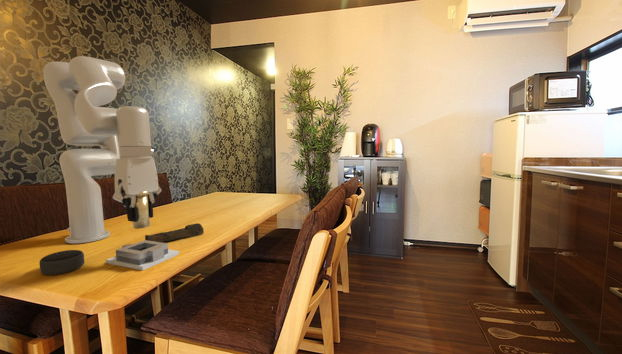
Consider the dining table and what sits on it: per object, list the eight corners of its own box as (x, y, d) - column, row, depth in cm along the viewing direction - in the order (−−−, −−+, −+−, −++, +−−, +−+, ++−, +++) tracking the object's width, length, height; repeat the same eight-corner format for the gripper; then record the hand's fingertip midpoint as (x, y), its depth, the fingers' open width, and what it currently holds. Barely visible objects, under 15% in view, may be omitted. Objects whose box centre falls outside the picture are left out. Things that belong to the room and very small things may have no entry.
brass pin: (127, 228, 79) (124, 192, 78) (143, 223, 83) (140, 189, 82) (140, 229, 77) (137, 192, 76) (155, 225, 81) (152, 190, 80)
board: (106, 263, 79) (106, 259, 79) (145, 248, 91) (144, 245, 91) (142, 270, 74) (142, 266, 74) (179, 254, 86) (178, 251, 85)
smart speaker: (70, 261, 82) (69, 247, 81) (92, 264, 79) (91, 250, 79) (32, 274, 73) (30, 259, 73) (55, 278, 71) (54, 263, 70)
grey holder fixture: (107, 259, 80) (107, 248, 80) (137, 248, 88) (136, 238, 88) (144, 265, 75) (143, 254, 75) (172, 254, 83) (171, 243, 83)
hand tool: (147, 248, 92) (146, 234, 91) (144, 245, 95) (143, 231, 94) (206, 236, 104) (205, 223, 104) (202, 233, 107) (201, 221, 107)
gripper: (152, 152, 87) (156, 212, 89) (94, 154, 72) (100, 225, 73) (171, 152, 85) (175, 213, 86) (114, 153, 69) (121, 228, 71)
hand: (140, 218), depth 80 cm, fingers closed on brass pin, 4 cm apart
